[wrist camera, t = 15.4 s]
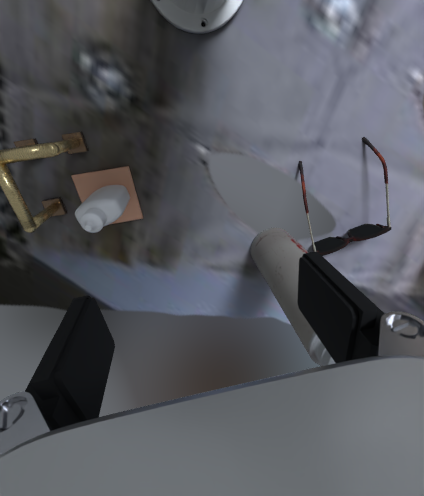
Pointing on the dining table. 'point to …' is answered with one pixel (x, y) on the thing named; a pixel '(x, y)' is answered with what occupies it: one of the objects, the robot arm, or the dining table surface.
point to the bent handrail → (30, 152)
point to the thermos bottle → (287, 284)
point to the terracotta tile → (114, 176)
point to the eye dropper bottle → (102, 207)
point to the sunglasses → (356, 233)
